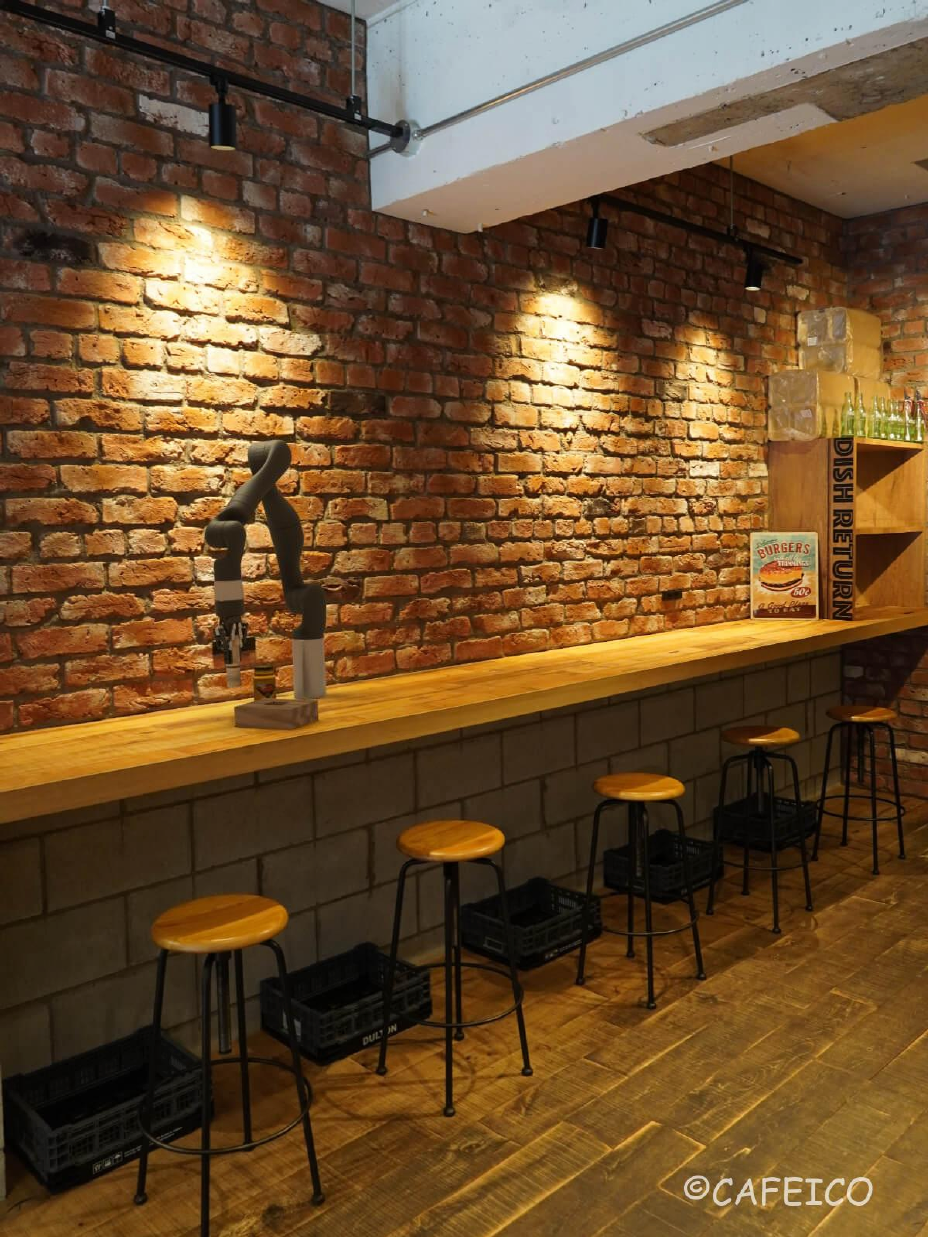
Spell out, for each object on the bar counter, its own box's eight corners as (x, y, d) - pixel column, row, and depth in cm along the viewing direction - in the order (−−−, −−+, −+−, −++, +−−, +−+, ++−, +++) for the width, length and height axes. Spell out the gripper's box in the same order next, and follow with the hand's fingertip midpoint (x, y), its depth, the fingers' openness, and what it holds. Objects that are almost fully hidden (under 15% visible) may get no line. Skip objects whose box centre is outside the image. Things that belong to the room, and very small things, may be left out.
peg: (232, 684, 278) (229, 636, 276) (244, 685, 276) (241, 636, 275) (224, 687, 274) (221, 638, 273) (236, 687, 273) (233, 638, 271)
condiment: (266, 712, 282) (264, 668, 281) (242, 710, 286) (240, 666, 285) (283, 707, 289) (282, 664, 288) (260, 705, 293) (258, 663, 292)
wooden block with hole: (264, 716, 275) (263, 698, 274) (318, 719, 269) (317, 700, 269) (235, 726, 262) (234, 707, 261) (291, 729, 256) (290, 709, 256)
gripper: (231, 595, 281) (235, 658, 282) (201, 600, 267) (205, 666, 269) (255, 595, 278) (259, 659, 280) (226, 600, 265) (230, 667, 267)
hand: (232, 662), depth 275 cm, fingers closed on peg, 3 cm apart
